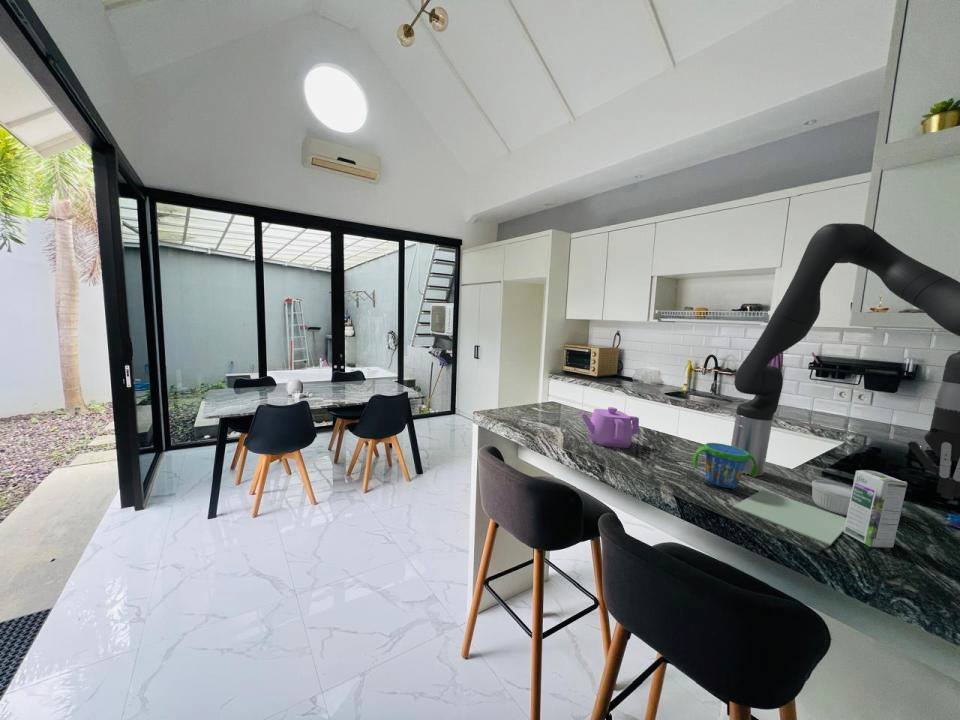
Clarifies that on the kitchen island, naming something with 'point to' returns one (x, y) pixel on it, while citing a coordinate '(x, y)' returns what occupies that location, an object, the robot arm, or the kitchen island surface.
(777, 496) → the mat
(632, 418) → the teakettle
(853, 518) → the syrup box
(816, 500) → the ramekin
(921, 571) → the kitchen island surface
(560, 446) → the kitchen island surface
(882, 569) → the kitchen island surface
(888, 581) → the kitchen island surface
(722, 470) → the snack cup
